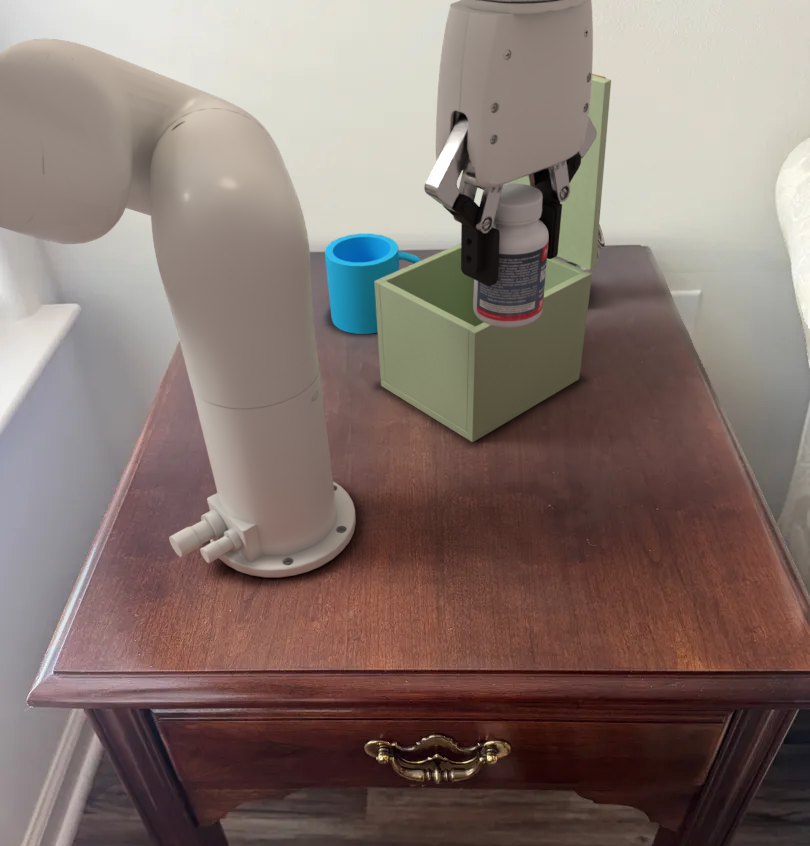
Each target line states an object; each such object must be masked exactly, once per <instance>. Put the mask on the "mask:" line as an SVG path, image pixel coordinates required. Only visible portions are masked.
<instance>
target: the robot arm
mask: <svg viewBox="0 0 810 846" xmlns="http://www.w3.org/2000/svg"><path fill="white" fill-rule="evenodd" d="M592 2H593V1H592V0H458V1H455V2H452V3H450V5H449V9H448V13H447V18H446V22H445V28H444V34H443V39H442V46H441V54H440V63H439V71H438V72H439V73H438V81H437V82H438V83H437V97H436V98H437V99H436V117H435V119H436V120H435V160H436V161H435V163H434V165H433V167H432V169H431V171H430V173H429V175H428V177H427V179H426V181H425V183H424V185H423V187H424V188H423V189H424V192H425V194H426V195H428V196H429V197H431V198H432V199H433V200H435V201H436V203H439V204H441V206H442V207H443V208H444V209H445V210H446V211H447V212H449V213H450V215H452V218H453V220H454V221H456V222H458V223H460V225H461V227H460V229H461V231H460V232H461V234H460V235H461V236H460V237H461V238H460V241H461V242H460V243H461V270H462V272H463V274H465V275H467V276H469V277H471V278H473V279H475V280H477V281H479V282H480V283H482V284H484V285H486V286H492V285H494V284H496V283H497V280H498V265H499V242H500V233H499V230H497V229H495V228H493V224H494V220H495V216H496V212H497V208H498V204H499V200H500V196H501V192H502V188H503V184H506V183H509V182H512V181H514V180H517V179H520V178H522V177H525V176H528V175H529V181H530V186H533V187H535V188H537V189H539V190H540V191H541V192H542V196H543V197H542V213H541V217H540V218H539V220H540V221H541V222H542V223H543V224H544V225H545V226H546V228H547V230H548V234H549V241H548V253H547V259H552V258H557V257H558V256H557V254H558V245H559V234H560V223H561V212H562V204H560V202H564V201H565V200H566V199H567V198H568V196H569V194H570V184H569V183H570V182H571V180H572V178H573V177H574V175H575V174H576V172H577V170H578V169H579V167H580V164H581V158H582V159H583V157H584V156H585V154H586V153H587V151H588V150H589V148H590V147H591V145H592V144H593V142H594V141H595V139H596V136H597V131H596V129H595V127H594V125H593V123H592V121H591V119H590V117H589V108H590V97H591V82H592V74H593V56H594V55H593V54H594V53H593V52H594V25H593V23H594V22H593V3H592ZM460 176H461V178H460V182H459V187H458V181H459V177H460ZM478 189H479V190H482V194H481V199H480V202H479V205H478V204H477V203H476V202H475V201H476V200H475V199H476V194H477V190H478ZM126 209H127V210H130V211H134V212H138V213H140V214H144V215H147V216H150V223H151V232H152V241H153V248H154V253H155V258H156V263H157V267H158V272H159V275H160V279H161V282H162V286H163V290H164V292H165V297H166V298H167V302H168V305H169V309H170V311H171V312H170V313H171V315H172V318H173V322H174V326H175V329H176V333H177V337H178V340H179V345H180V349H181V352H182V356H183V361H184V364H185V367H186V372H187V377H188V382H189V383H190V387H191V391H192V394H193V399H194V403H195V406H196V412H197V415H198V420H199V423H200V427H201V431H202V435H203V440H204V443H205V447H206V451H207V456H208V459H209V460H208V461H209V464H210V469H211V472H212V476H213V480H214V484H215V489H216V493H214V494H212V495H210V496H207V498H206V501H207V505H208V509H209V511H207V512H205V513H203V514H202V515H201V516H200V521H198V522H197V523H195V524H193V525H191V526H187V527H185V528H183V529H181V530H179V531H177V532H175V533H174V534H172V535H170V536H169V537H168V538H169V539H168V540H169V543H170V546H171V548H172V549H173V551H174V552H175V554H176V555H177V556H178V557H179V558H183V557H185V556H187V555H188V554H190V553H192V552H194V551H195V550H198V549H199V551H200V554H201V556H202V558H203V560H204V561H205V562H206V563H207V564H210V563H213V562H214V561H215V560H217V559H219V560H221V562H223V563H224V564H225V565H226V566H227V567H229V568H231V569H233V570H235V571H237V572H240V573H242V574H247V575H249V576H255V577H261V578H285V577H291V576H297V575H301V574H304V573H308V572H310V571H313V570H315V569H318V568H320V567H322V566H324V565H326V564H327V563H329V562H330V561H332V560H333V559H335V558H336V557H337V556H338V555H339V554H340V553H341V552H343V550H344V549H345V548H346V546H348V544H349V543H350V541H351V539H352V537H353V536H354V533H355V529H356V524H357V520H356V519H357V518H356V509H355V505H354V502H353V500H352V498H351V496H350V494H349V493H348V491H346V490H345V489H344V488H343V487H342V486H341V485H340V484H338V483H337V482H335V481H334V478H333V476H334V475H333V469H332V459H331V451H330V443H329V436H328V426H327V419H326V418H327V417H326V410H325V401H324V394H323V385H322V377H321V367H320V363H319V354H318V353H319V352H318V348H317V347H318V346H317V337H316V329H315V319H314V318H315V317H314V306H313V291H312V290H313V288H312V263H311V250H310V249H311V248H310V243H309V235H308V230H307V224H306V220H305V217H304V216H305V215H304V213H303V209H302V205H301V203H300V200H299V197H298V194H297V191H296V188H295V186H294V183H293V181H292V178H291V175H290V173H289V170H288V168H287V167H286V164H285V162H284V159H283V156H282V154H281V152H280V149H279V148H278V145H277V142H276V141H275V139H274V137H273V136H272V135H271V133H270V132H269V131H268V129H267V128H266V127H265V126H264V125H263V124H262V123H261V122H260V121H259V119H257V118H256V117H254V115H252V114H251V113H249V112H248V111H246V110H245V109H244V108H242V107H240V106H238V105H236V104H234V103H232V102H230V101H228V100H226V99H223V98H220V97H219V96H217V95H214V94H211V93H209V92H206V91H204V90H201V89H199V88H196V87H194V86H191V85H188V84H186V83H184V82H181V81H179V80H175V79H173V78H172V77H171V78H170V77H168V76H165V75H163V74H161V73H157V72H155V71H153V70H150V69H147V68H145V67H142V66H140V65H138V64H135V63H133V62H130V61H128V60H125V59H123V58H120V57H117V56H116V55H115V56H114V55H112V54H110V53H107V52H105V51H102V50H99V49H96V48H93V47H91V46H88V45H84V44H81V43H77V42H75V41H74V42H73V41H69V40H64V39H57V38H56V39H55V38H45V37H43V38H32V39H27V40H22V41H20V42H17V43H15V44H13V45H10V46H9V47H7V48H6V49H4V50H3V51H2V52H0V228H1V229H5V230H8V231H12V232H14V233H18V234H20V235H24V236H26V237H27V236H28V237H31V238H34V239H38V240H42V241H47V242H52V243H56V244H62V245H77V244H81V245H82V244H87V243H90V242H93V241H96V240H98V239H101V238H102V237H104V236H105V235H107V234H108V233H109V232H110V231H111V230H113V228H114V227H115V226H116V225H117V224H118V223H119V221H120V220H121V218H122V216H123V215H124V212H125V211H126ZM207 542H209V543H208V544H206V545H205V546H203V547H201V546H202V545H204V544H205V543H207ZM200 547H201V548H200Z"/></svg>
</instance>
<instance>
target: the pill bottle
mask: <svg viewBox="0 0 810 846" xmlns="http://www.w3.org/2000/svg"><path fill="white" fill-rule="evenodd" d="M542 197H543V196H542V192H541V191H540V190H539V189H537V188H535V187H533V186H530V185H525V184H515V183H513V184H503V188H502V192H501V196H500V200H499V204H498V208H497V212H496V216H495V220H494V224H493V228H495V229H497V230H499V233H500V242H499V265H498V280H497V283H496V284H494V285H492V286H486V285H484V284H482V283H480V282H479V281H477V280H475V279H474V293H473V310H474V313H475V315H476V316H477V317H478V318H479V319H480V320H481V321H483V322H485V323H487V324H489V325H493V326H497V327H520V326H524V325H527V324H530V323H532V322H534V321H535V320H537V319H538V318H539V317H540V315H541V314H542V310H543V301H544V288H545V275H546V264H547V253H548V241H549V234H548V230H547V228H546V226H545V225H544V224H543V223H542V222H541V221H540V220H539V218H540V217H541V213H542Z"/></svg>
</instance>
